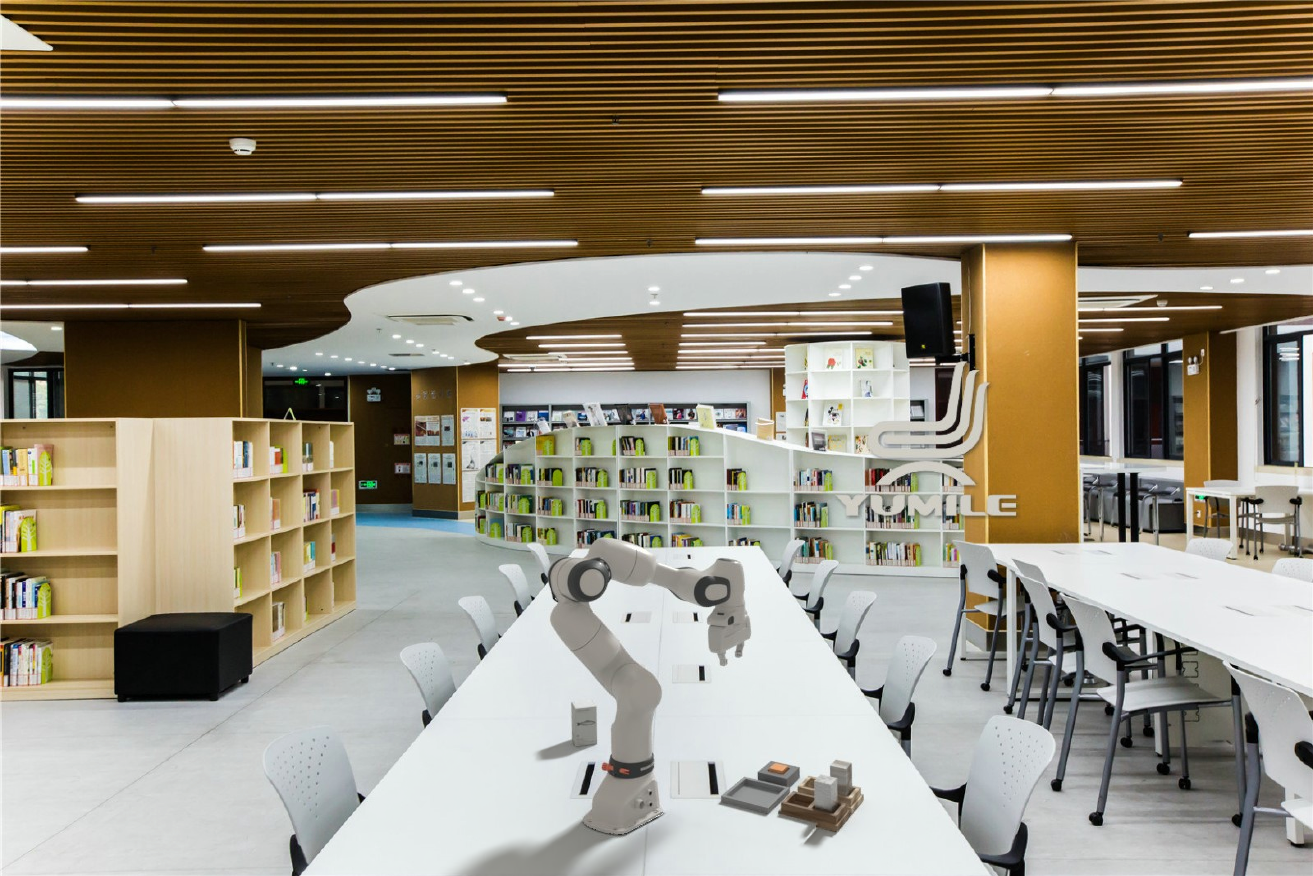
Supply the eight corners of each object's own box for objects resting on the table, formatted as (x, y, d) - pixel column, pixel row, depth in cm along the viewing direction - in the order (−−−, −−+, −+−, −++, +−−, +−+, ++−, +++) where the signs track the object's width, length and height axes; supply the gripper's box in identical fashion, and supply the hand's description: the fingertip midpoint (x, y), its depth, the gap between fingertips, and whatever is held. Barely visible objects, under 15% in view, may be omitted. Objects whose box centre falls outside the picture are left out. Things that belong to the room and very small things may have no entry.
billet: (831, 819, 205) (830, 784, 205) (814, 815, 208) (813, 780, 208) (837, 812, 209) (837, 778, 209) (820, 808, 212) (819, 774, 212)
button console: (787, 793, 224) (786, 779, 224) (757, 786, 229) (757, 772, 229) (799, 781, 232) (799, 767, 232) (771, 774, 237) (770, 760, 237)
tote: (768, 817, 210) (768, 808, 210) (721, 805, 218) (720, 796, 218) (790, 796, 222) (789, 787, 222) (744, 785, 230) (744, 776, 230)
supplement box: (575, 747, 260) (574, 708, 260) (571, 739, 267) (570, 701, 267) (597, 744, 262) (596, 706, 262) (593, 736, 269) (592, 698, 269)
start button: (782, 781, 228) (782, 771, 228) (769, 778, 230) (769, 768, 230) (788, 776, 231) (788, 766, 231) (775, 773, 233) (775, 763, 233)
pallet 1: (851, 814, 211) (851, 774, 211) (795, 800, 220) (794, 761, 220) (863, 799, 219) (862, 761, 219) (808, 786, 228) (807, 749, 228)
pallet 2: (837, 832, 202) (836, 818, 202) (778, 816, 211) (778, 803, 211) (849, 816, 210) (849, 803, 210) (792, 802, 219) (792, 789, 219)
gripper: (736, 605, 245) (737, 651, 245) (703, 619, 228) (704, 668, 228) (755, 607, 242) (756, 653, 242) (723, 622, 224) (724, 671, 225)
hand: (731, 661), depth 235 cm, fingers open, 8 cm apart
